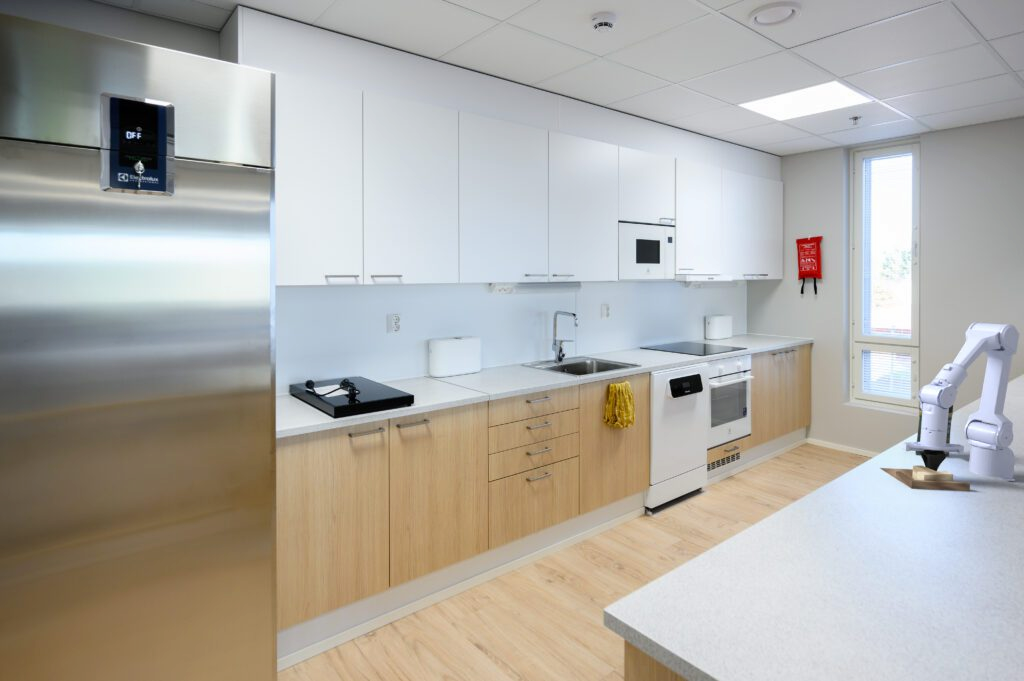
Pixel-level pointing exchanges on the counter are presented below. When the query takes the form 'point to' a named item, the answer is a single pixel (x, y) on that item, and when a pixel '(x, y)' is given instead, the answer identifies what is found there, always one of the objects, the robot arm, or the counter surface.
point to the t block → (930, 474)
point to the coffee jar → (947, 428)
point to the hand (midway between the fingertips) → (930, 476)
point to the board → (925, 481)
